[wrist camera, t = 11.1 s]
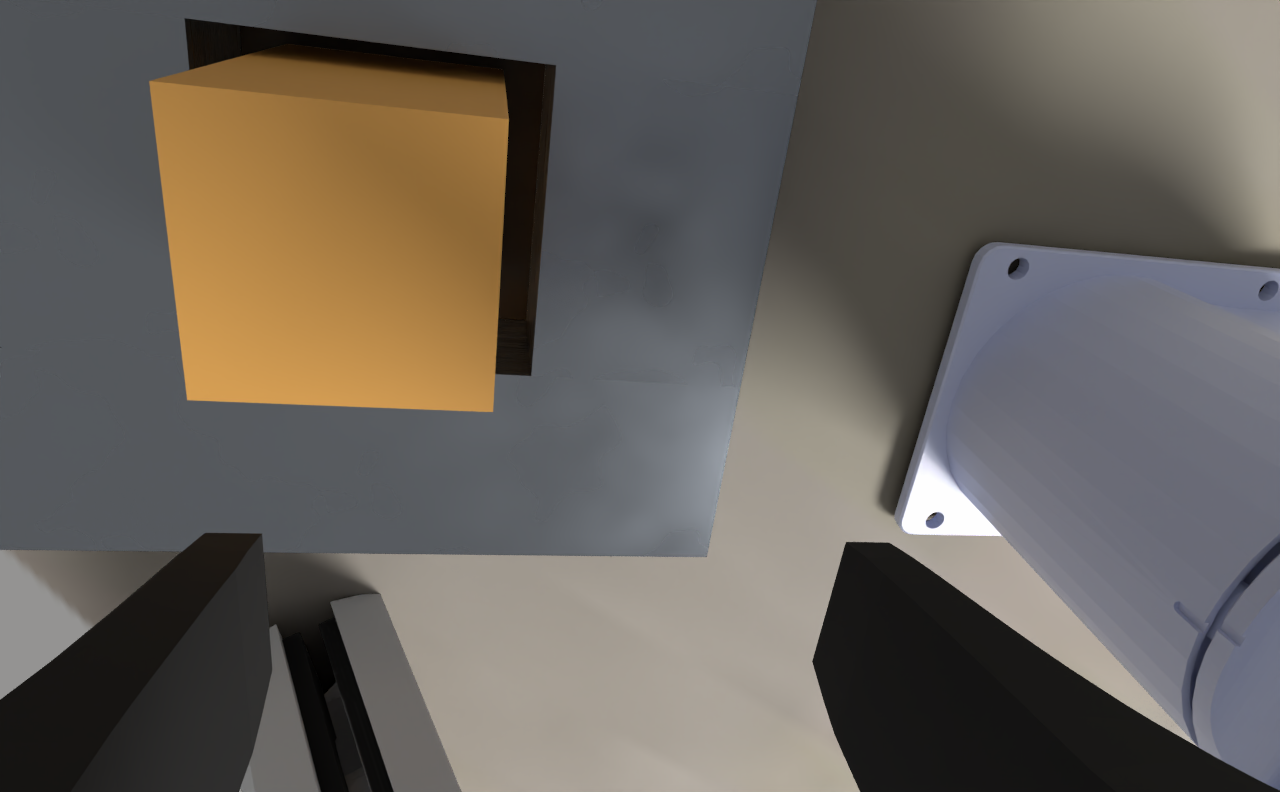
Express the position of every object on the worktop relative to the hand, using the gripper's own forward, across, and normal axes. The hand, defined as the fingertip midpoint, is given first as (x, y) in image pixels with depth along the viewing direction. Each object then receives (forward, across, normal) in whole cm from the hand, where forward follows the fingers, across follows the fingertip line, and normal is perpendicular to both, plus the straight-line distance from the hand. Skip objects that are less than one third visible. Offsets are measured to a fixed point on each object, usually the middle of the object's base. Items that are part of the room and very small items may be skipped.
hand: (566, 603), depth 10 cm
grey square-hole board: (+9, +3, -3) cm, 10 cm away
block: (+10, +3, -3) cm, 11 cm away
